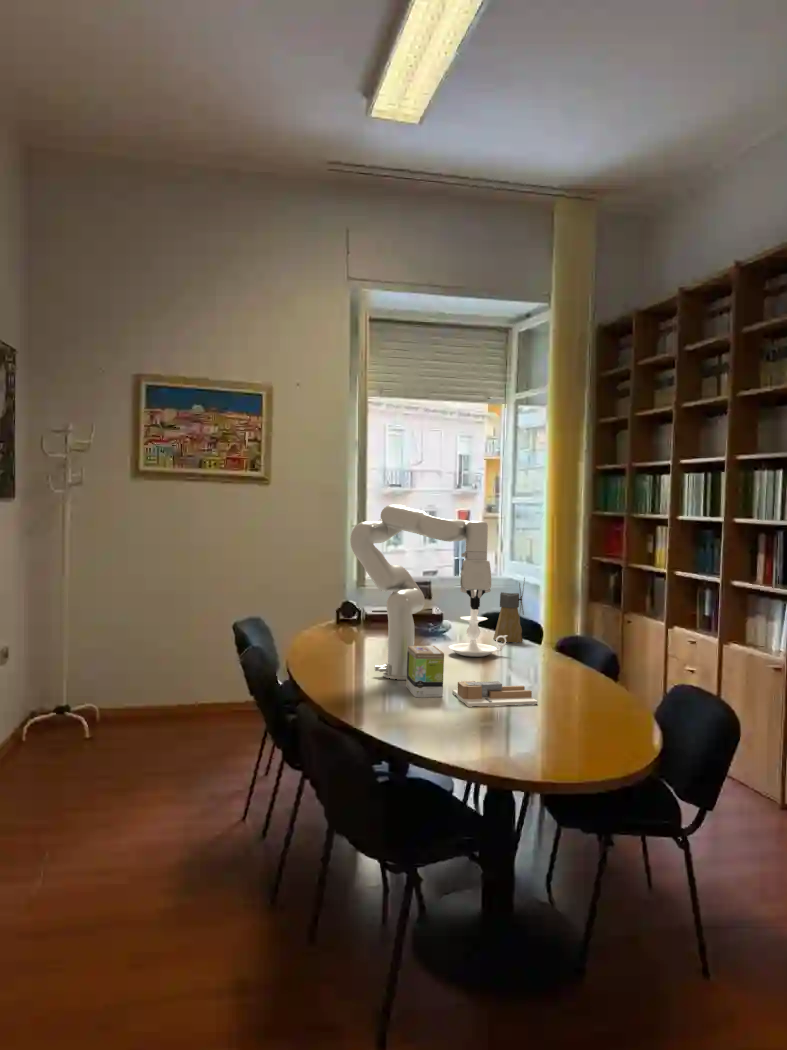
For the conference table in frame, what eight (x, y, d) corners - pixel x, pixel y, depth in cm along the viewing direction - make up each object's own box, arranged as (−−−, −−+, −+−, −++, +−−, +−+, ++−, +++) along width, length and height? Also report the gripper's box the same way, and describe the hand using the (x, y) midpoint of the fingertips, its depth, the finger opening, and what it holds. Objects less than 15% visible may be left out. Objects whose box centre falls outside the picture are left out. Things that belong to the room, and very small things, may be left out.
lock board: (468, 707, 254) (468, 690, 254) (452, 693, 271) (452, 677, 271) (537, 704, 258) (537, 688, 258) (517, 691, 276) (517, 676, 276)
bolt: (466, 697, 261) (466, 685, 261) (462, 694, 265) (463, 682, 265) (501, 696, 263) (502, 684, 263) (497, 693, 267) (498, 681, 267)
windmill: (520, 645, 364) (522, 579, 363) (489, 643, 368) (491, 577, 367) (526, 637, 384) (528, 575, 383) (496, 635, 388) (498, 573, 387)
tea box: (443, 697, 266) (444, 652, 265) (413, 698, 264) (414, 653, 264) (434, 686, 281) (435, 644, 280) (405, 687, 279) (406, 644, 279)
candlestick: (511, 660, 329) (513, 592, 328) (451, 659, 328) (452, 591, 327) (502, 650, 350) (504, 586, 349) (445, 650, 349) (447, 585, 348)
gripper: (458, 557, 275) (457, 610, 276) (500, 557, 279) (498, 610, 279) (452, 555, 283) (451, 607, 283) (493, 555, 286) (491, 607, 286)
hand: (474, 609), depth 281 cm, fingers closed
